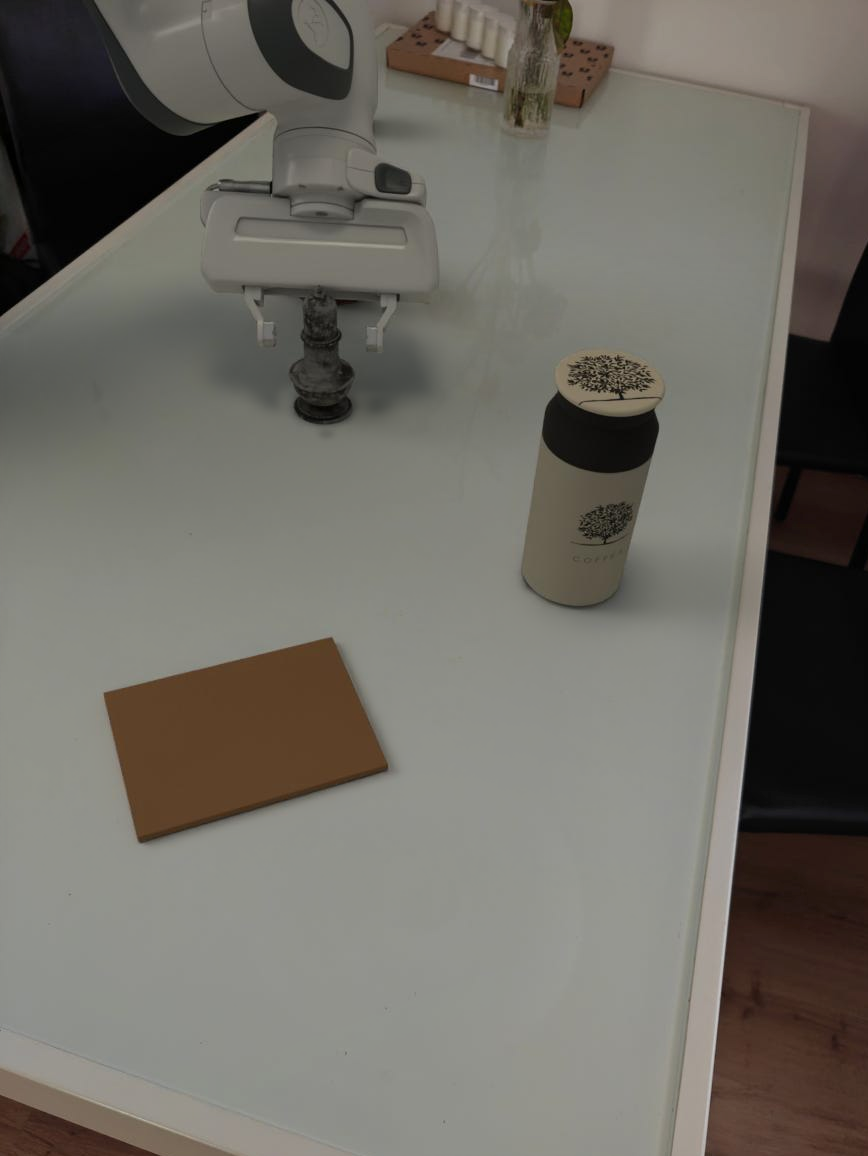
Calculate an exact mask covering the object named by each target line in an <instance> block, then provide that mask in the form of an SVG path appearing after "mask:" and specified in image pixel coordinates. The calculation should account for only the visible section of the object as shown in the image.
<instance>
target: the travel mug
mask: <svg viewBox="0 0 868 1156" xmlns="http://www.w3.org/2000/svg"><path fill="white" fill-rule="evenodd" d="M554 369H555V370H554V374H553V379H554V385H555V386H556V388H557V392H556V393H555V395H554V396H553V397H552V398H551V399H549V401H548V403H547V405H546V406H545V410H544V415H543V421H542V428H541V434H540V440H539V448H538V454H537V459H536V467H535V474H534V479H533V487H532V494H531V500H530V505H529V513H528V519H527V524H526V532H525V538H524V544H523V545H524V546H523V551H522V557H521V567H520V568H521V573H522V576H523V578H524V581H526V583H527V584H528V586H529V587H530V588H531V589H532V590H533V591H535V592H536V593H537V594H538V595H540V596H541V597H543V598H545V599H547V600H549V601H551V602H554V603H556V604H561V605H566V606H573V607H584V606H591V605H595V604H598V603H602V602H604V601H606V600H607V599H609V598H610V597H612V596H613V595H614V594H615V593H616V592H617V590H618V589H619V587H620V584H621V581H622V577H623V574H624V571H625V565H626V562H627V557H628V554H629V550H630V546H631V543H632V538H633V535H634V531H635V526H636V522H637V519H638V514H639V511H640V508H641V507H640V506H641V504H642V499H643V495H644V491H645V487H646V484H647V479H648V476H649V473H650V467H651V464H652V460H653V456H654V452H655V448H656V444H657V440H658V437H659V432H660V422H659V419H658V416H657V414H656V408H657V407H658V406H659V405H660V404H661V402H662V401H663V400H664V397H665V396H666V384H665V383H666V382H665V380H664V378H663V376H662V374H661V373H660V372H659V371H658V370H657V369H656V368H655V367H654V366H653V365H651V364H650V363H649V362H647V361H646V360H644V359H642V358H640V357H638V356H636V355H633V354H631V353H628V352H624V351H620V350H614V349H606V348H593V349H591V348H590V349H585V350H580V351H576V352H574V353H571V354H569V355H567V356H566V357H564V358H563V359H561V360H560V362H559V363H558V364H557V365H556V367H555V368H554Z"/></svg>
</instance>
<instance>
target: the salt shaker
mask: <svg viewBox="0 0 868 1156" xmlns="http://www.w3.org/2000/svg"><path fill="white" fill-rule="evenodd" d="M315 291H317V292H316V293H312V294H310V295H308V296H307V297H306V298H305V300H304V301H302V318H303V319H302V321H303V328H302V329H301V330H300V331H299V339H300V340H301V342H303V357H302V358H300V359H297V360H296V361H295V362H294V363H292V364H291V366H290V367H289V369H288V378H289V380H290V381H291V383H292V385H293V388H294V391H295V392H296V394H297V395H298V397H296V399H295V400H294V402H293V409H294V412H295V414H296V415H297V416H298V417H299V418H300V419H302V420H304V421H307V422H308V423H312V424H318V425H328V424H329V425H331V424H335V423H338V422H341V421H343V420H345V419H346V418H348V417H349V416H350V415H351V413H352V410H353V403H352V400H351V399H350V398H349V397H348V394H349V393H350V390H351V388H352V384H353V383H354V381H355V379H356V371H355V368H354V367H353V365H352V364H351V363H350V362H348V361H347V360H345V359H343V358H341V357H340V353H339V352H340V350H339V349H340V348H339V347H340V346H339V345H340V344H339V342H340V341H341V340H342V337H343V333H342V331H341V330H340V328H338V305H337V304H336V301H335V299H334V298H333V297H332V296H331V295H329V294H327V293H323V292H322V291H323V288H322V287H321V286H320V285H318V286H317V288H316V289H315Z"/></svg>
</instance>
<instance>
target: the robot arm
mask: <svg viewBox="0 0 868 1156" xmlns="http://www.w3.org/2000/svg"><path fill="white" fill-rule="evenodd" d="M82 2H83V3H84V5H85V8H86V9H87V11H88V13H89V14H90V17H91V19H92V20H93V23H94V24H95V26H96V28H97V30H98V32H99V34H100V37H101V39H102V41H103V44H104V46H105V49H106V53H107V54H108V58H109V60H110V62H111V65H112V68H113V71H114V73H115V76H116V78H117V81H118V83H119V85H120V88H121V89H122V91H123V93H124V94H125V96H126V98H127V99H128V101H129V102H130V104H131V105H132V106H133V107H134V109H136V111H137V112H138V113H140V115H141V116H143V117H144V118H145V119H146V120H147V121H148V122H150V123H151V124H153V125H154V126H155V127H157V128H158V129H160V130H161V131H164V132H166V133H168V134H170V135H173V136H179V137H180V136H181V137H182V136H183V137H184V136H185V137H186V136H190V135H193V134H195V133H198V132H200V131H203V130H205V129H208V128H211V127H213V126H216V125H218V124H220V123H222V122H223V121H227V120H232V119H236V118H240V117H244V116H248V115H253V114H256V113H261V112H264V111H265V112H267V113H269V114H270V115H272V116H273V117H274V118H275V120H276V123H277V124H276V127H275V131H274V134H273V137H272V138H273V139H272V160H271V161H272V165H271V167H272V168H271V170H272V171H271V180H270V181H268V180H235V179H233V178H220V179H218V181H217V182H216V183H213V184H211V185H209V186H207V187H206V188H205V189H204V190H203V192H202V194H201V196H200V201H199V203H200V205H199V206H200V207H199V208H200V209H199V218H200V222H201V224H202V226H203V227H204V233H203V239H202V246H201V254H200V273H201V276H202V278H203V280H204V281H205V283H206V284H207V285H208V286H209V288H210V289H211V290H212V291H213V292H215V293H220V294H221V293H222V294H238V295H244V298H243V299H244V302H245V304H246V306H247V308H248V310H249V312H250V314H251V315H252V317H253V319H254V321H255V323H256V341H257V342H256V343H257V345H258V347H264V348H265V347H267V348H276V347H277V338H276V337H277V336H278V335H277V331H278V330H277V329H278V328H277V325H276V323H275V321H274V322H272V321H266V320H265V319H264V316H263V315H262V313H261V311H260V309H259V308H263V307H264V306H265V296H275V297H290V298H291V297H294V298H299V297H307V296H308V295H310V294H312V293H316V292H317V291H315V289H316V288H317V286H318V285H320V286H321V287H322V288H323V291H322V292H323V293H327V294H329V295H331V296H332V297H333V298H334V299H346V300H358V301H366V302H379V303H380V304H379V308H380V314H382V315H381V317H380V319H379V321H378V322H377V324H376V326H375V327H374V326H373V327H372V326H366V327H365V339H366V340H365V351H366V352H368V353H383V352H384V334H385V333H386V332H387V330H388V328H389V327H390V325H391V324H392V322H393V320H394V319H395V317H396V315H397V303H401V304H403V303H404V304H422V305H428V304H430V303H431V302H432V301H433V300H434V299H435V298H436V297H437V295H438V293H439V289H440V263H439V262H440V261H439V259H440V258H439V248H438V239H437V238H438V237H437V232H436V227H435V226H436V225H435V223H434V220H433V218H432V216H431V214H430V213H429V211H428V210H427V209H426V207H427V200H428V199H427V198H428V197H427V195H428V194H427V193H428V192H427V186H426V180H425V178H424V176H423V175H421V174H420V173H418V172H416V171H414V170H411V169H409V168H406V167H404V166H401V165H399V164H396V163H393V162H390V161H389V160H387V159H384V158H381V157H379V156H378V155H377V154H378V153H377V151H378V150H377V144H376V140H375V136H374V131H373V129H374V127H373V126H374V125H373V124H374V119H375V115H376V113H377V109H378V102H379V62H378V61H379V59H378V45H377V35H376V28H375V22H374V17H373V11H372V8H371V6H370V5H371V4H370V2H369V0H82ZM217 189H218V190H217Z"/></svg>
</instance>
